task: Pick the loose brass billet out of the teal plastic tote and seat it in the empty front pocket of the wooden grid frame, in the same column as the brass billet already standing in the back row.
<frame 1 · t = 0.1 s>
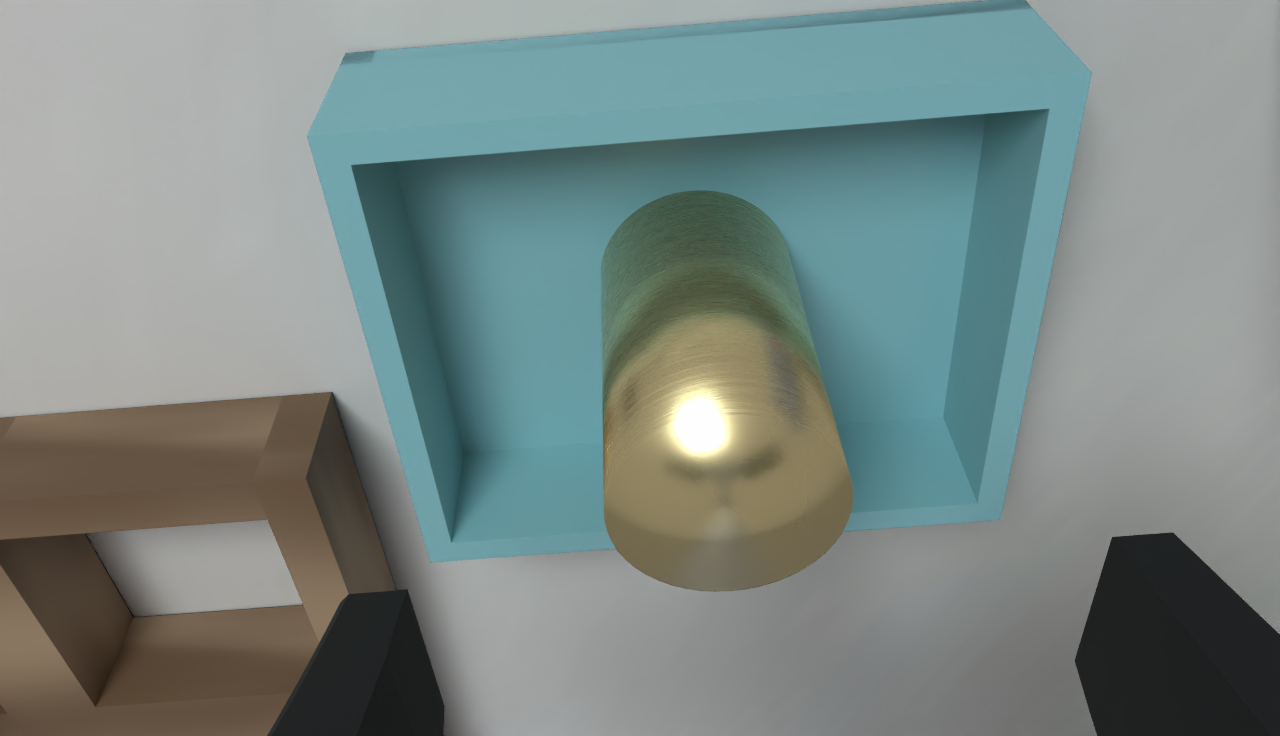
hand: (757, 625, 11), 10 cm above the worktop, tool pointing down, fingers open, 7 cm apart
wooden grid frame: (108, 646, 26), on the worktop
brass billet: (695, 274, 20), resting on teal tote
teal tote: (693, 259, 20), on the worktop
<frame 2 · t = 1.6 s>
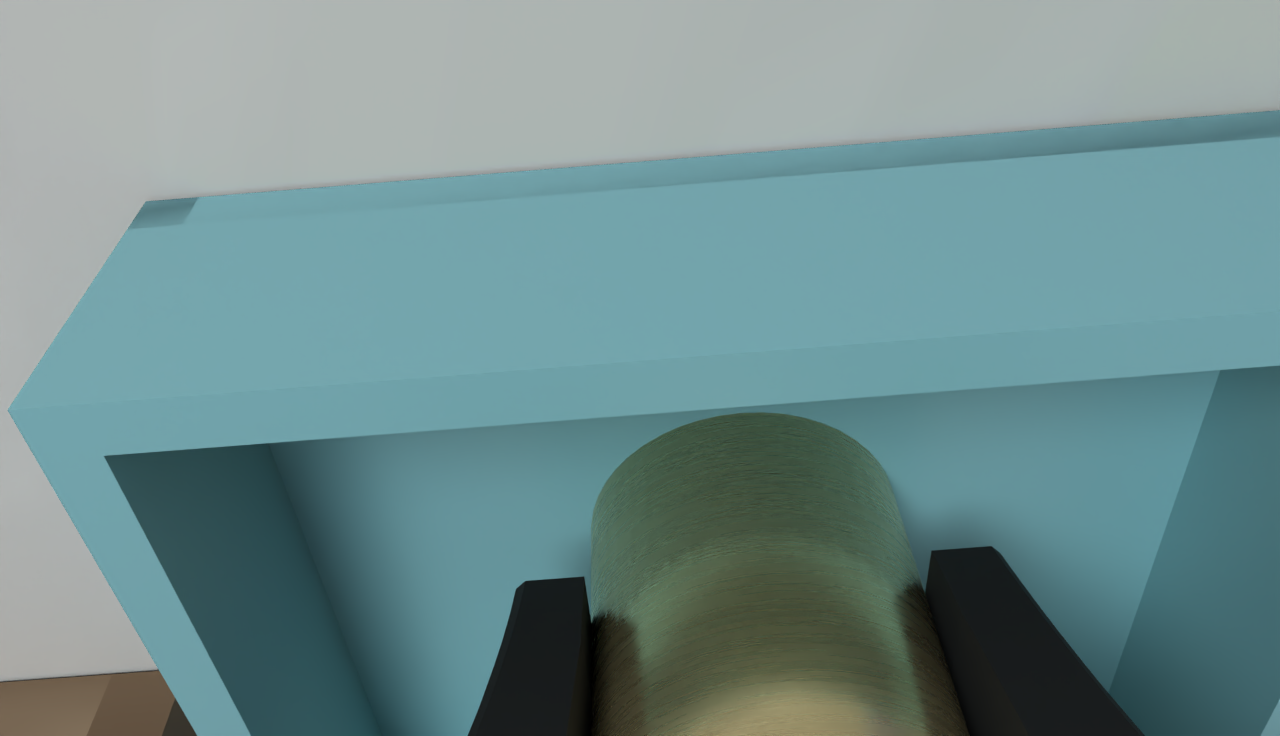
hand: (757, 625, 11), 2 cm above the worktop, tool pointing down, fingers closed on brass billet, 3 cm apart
brass billet: (742, 527, 12), resting on teal tote, touching gripper
teal tote: (737, 496, 13), on the worktop
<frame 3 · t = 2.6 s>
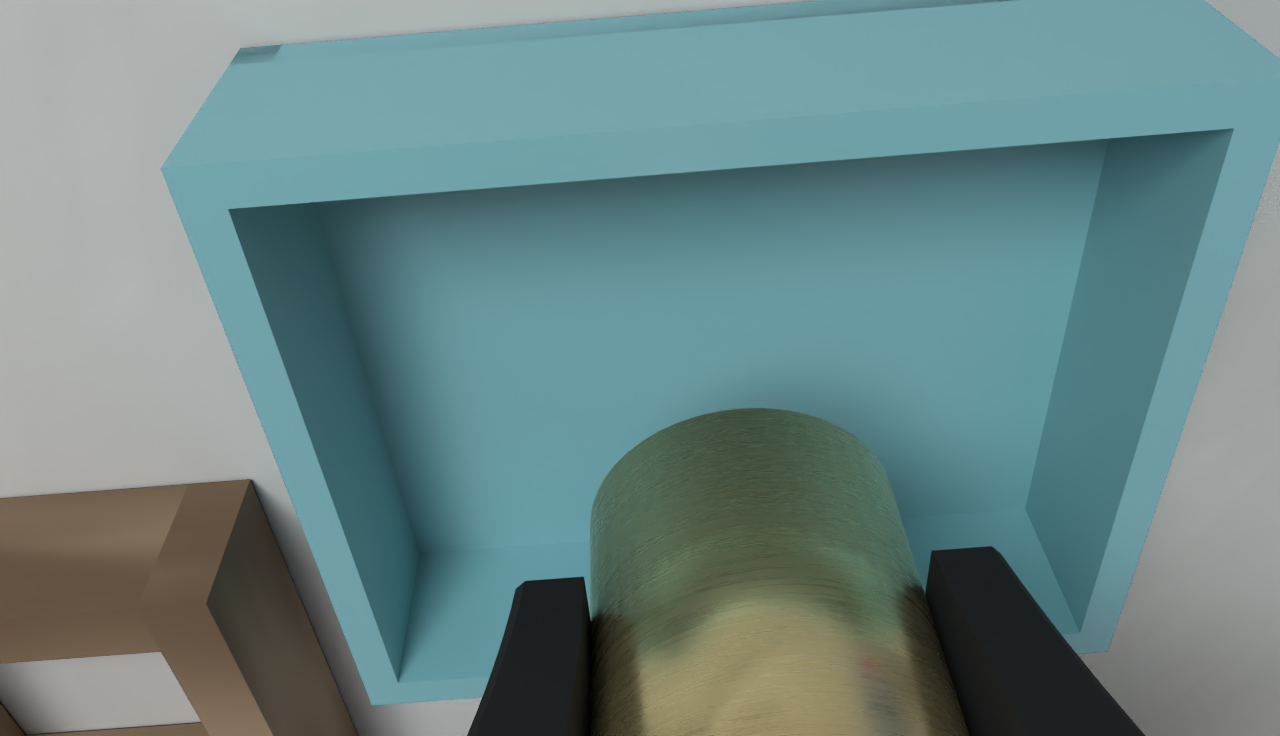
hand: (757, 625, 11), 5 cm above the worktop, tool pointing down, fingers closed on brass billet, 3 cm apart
brass billet: (741, 522, 12), point 4 cm above the worktop, touching gripper
teal tote: (711, 317, 15), on the worktop
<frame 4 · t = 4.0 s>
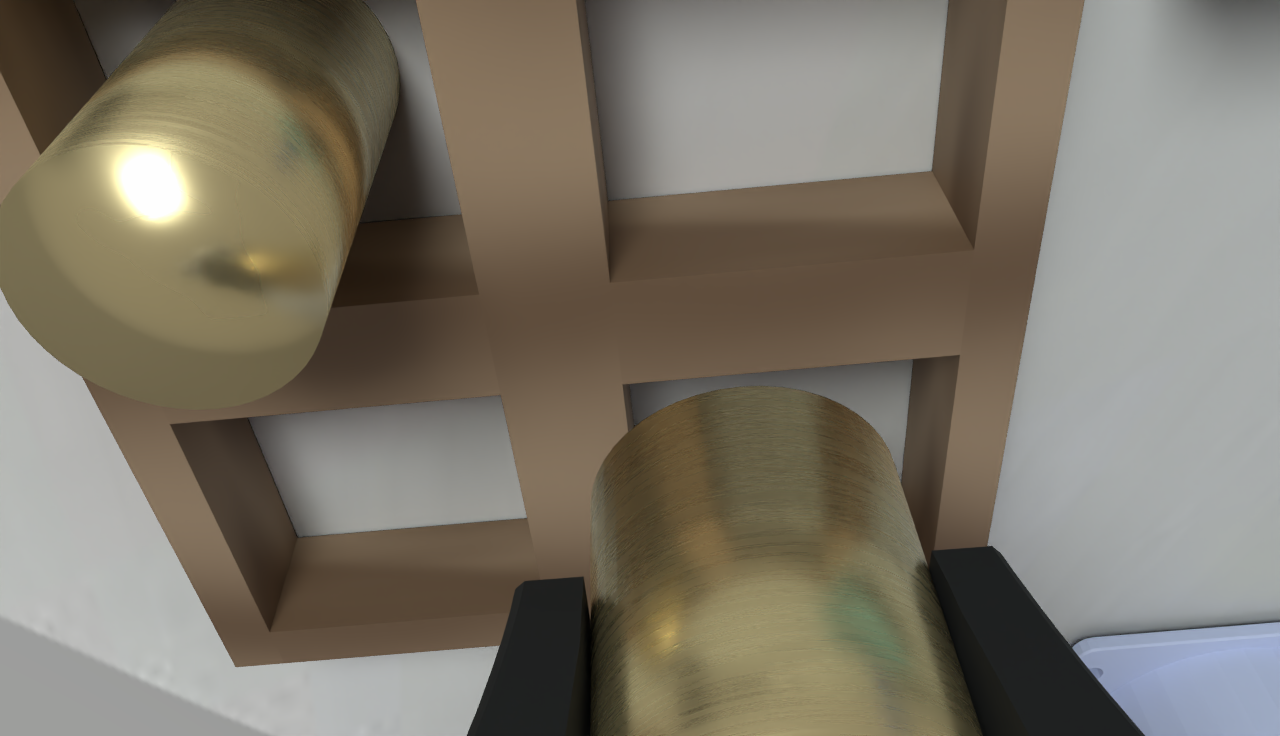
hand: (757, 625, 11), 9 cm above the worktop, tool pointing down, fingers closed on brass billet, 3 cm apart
wooden grid frame: (557, 255, 19), on the worktop
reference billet: (285, 72, 16), resting in wooden grid frame
brass billet: (743, 504, 12), point 7 cm above the worktop, touching gripper
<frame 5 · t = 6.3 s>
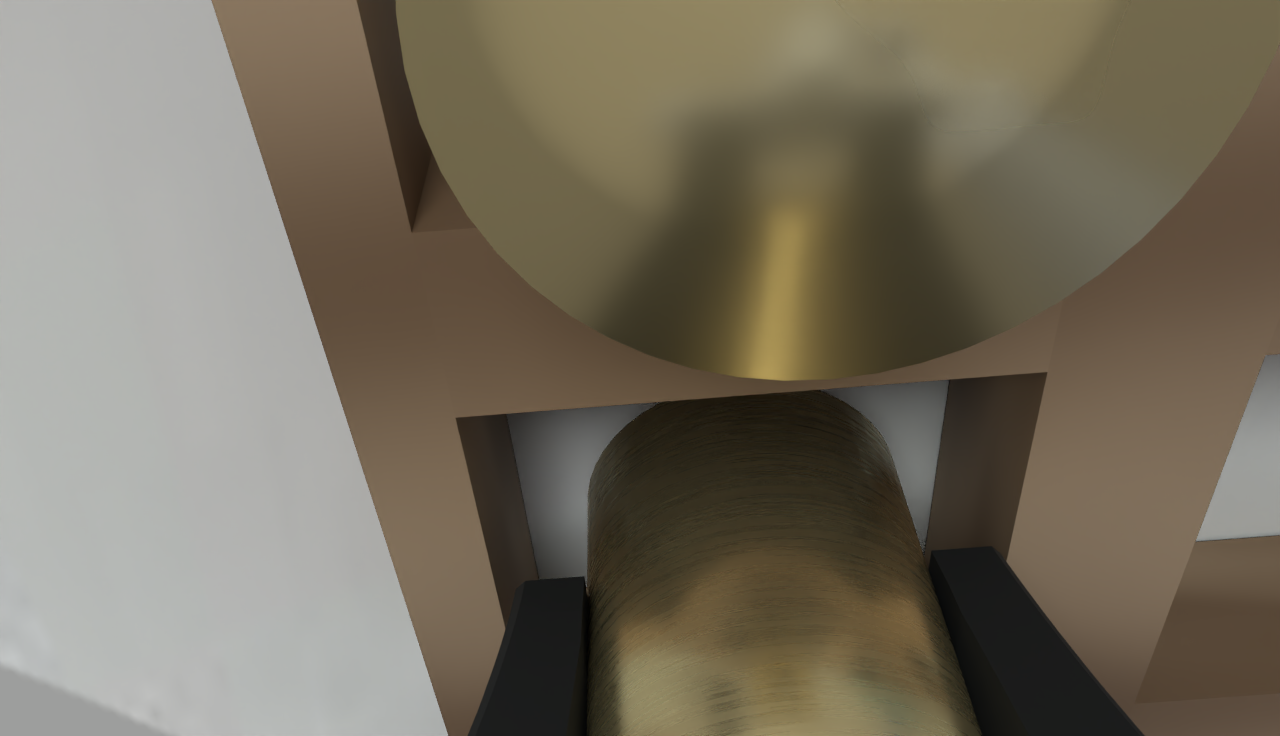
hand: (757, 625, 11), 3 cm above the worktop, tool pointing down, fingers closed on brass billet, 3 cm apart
wooden grid frame: (1078, 141, 11), on the worktop
brass billet: (741, 499, 12), point 2 cm above the worktop, touching gripper
when the fingers open (3 cm above the worktop, at t = 6.8 s): brass billet drops 1 cm, resting in wooden grid frame.
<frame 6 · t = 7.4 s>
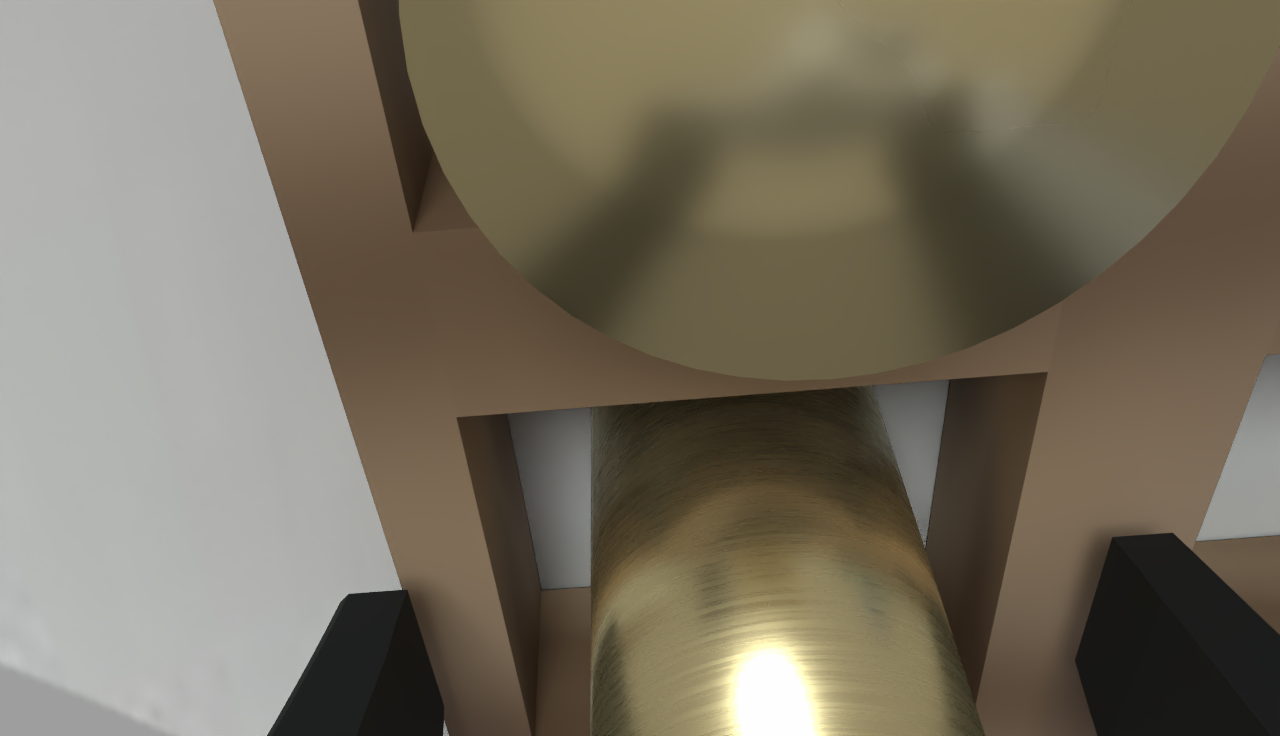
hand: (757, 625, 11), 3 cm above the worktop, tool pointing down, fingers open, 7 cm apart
wooden grid frame: (1079, 141, 11), on the worktop
brass billet: (730, 410, 13), resting in wooden grid frame
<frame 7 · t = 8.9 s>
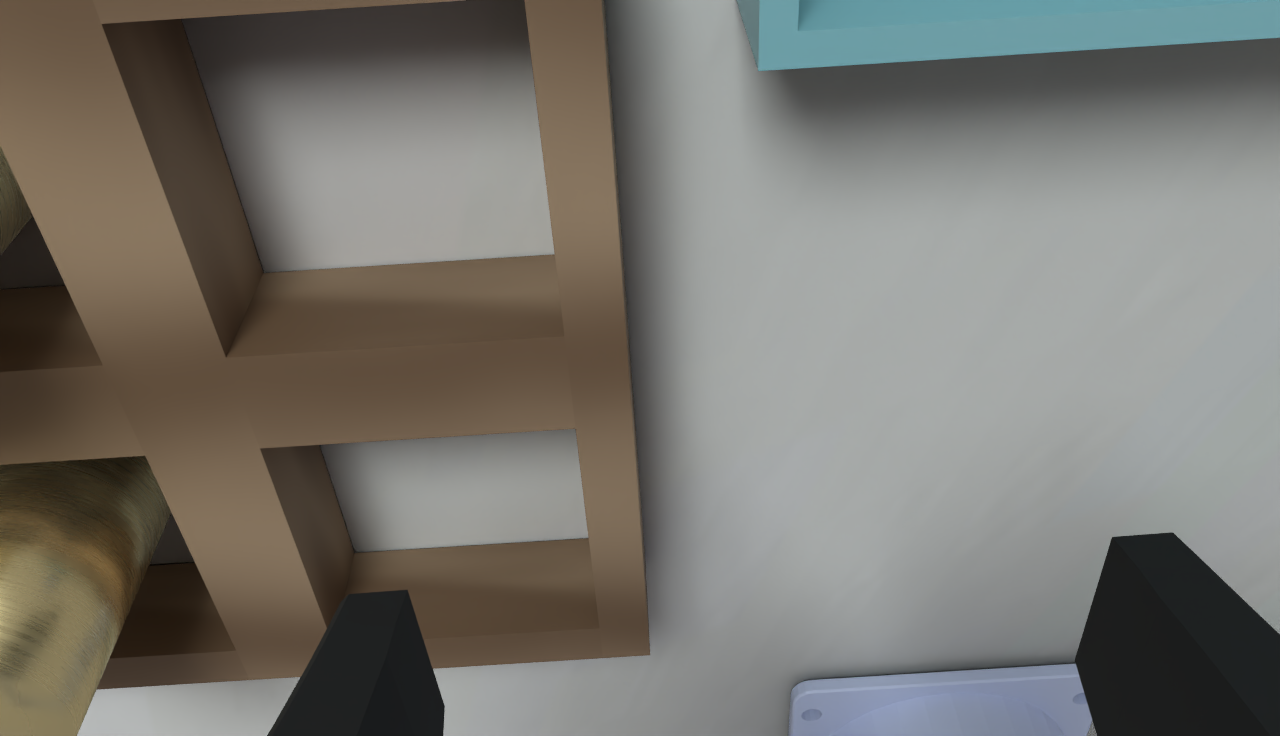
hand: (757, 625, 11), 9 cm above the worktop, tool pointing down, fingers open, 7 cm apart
wooden grid frame: (224, 321, 20), on the worktop
brass billet: (93, 464, 22), resting in wooden grid frame
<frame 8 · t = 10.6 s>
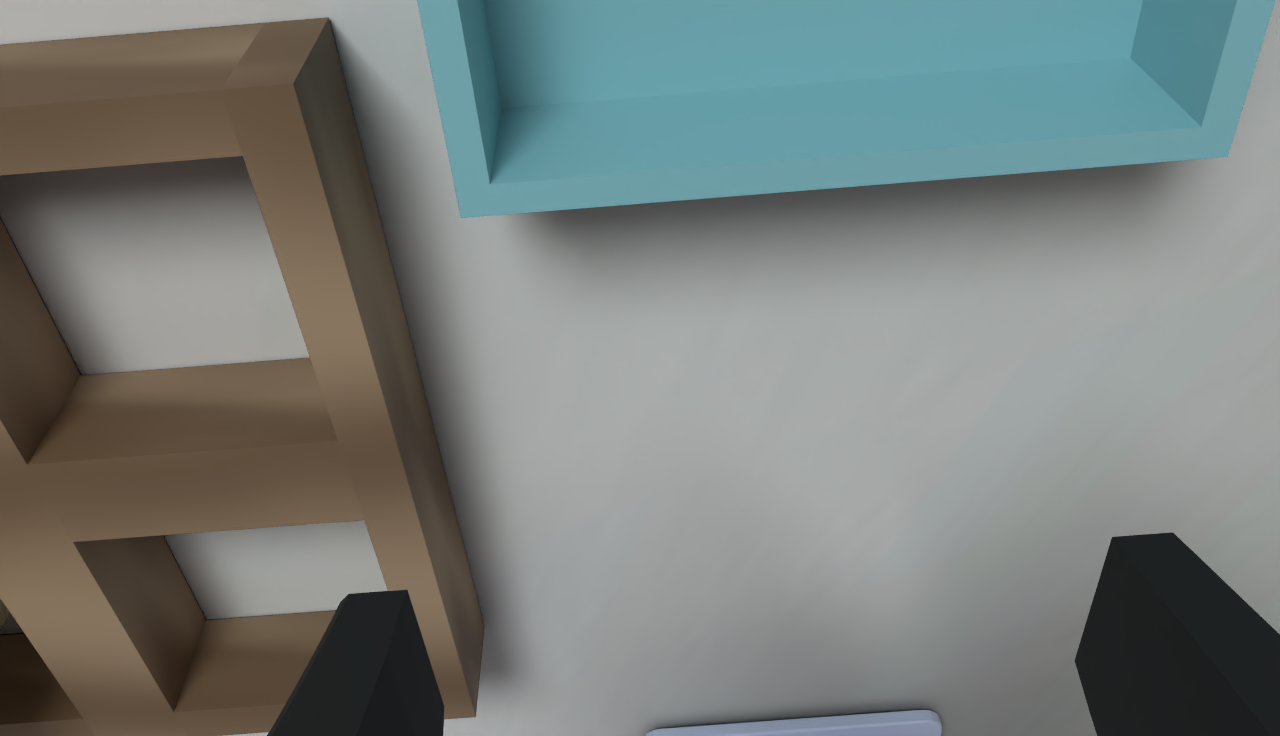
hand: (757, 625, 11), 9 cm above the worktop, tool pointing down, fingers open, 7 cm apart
wooden grid frame: (51, 418, 21), on the worktop
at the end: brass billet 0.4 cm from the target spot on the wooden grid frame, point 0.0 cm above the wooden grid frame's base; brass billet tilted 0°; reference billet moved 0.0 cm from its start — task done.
